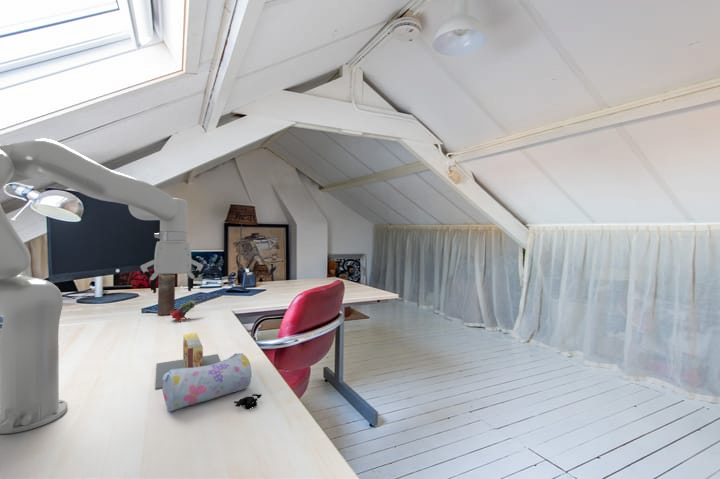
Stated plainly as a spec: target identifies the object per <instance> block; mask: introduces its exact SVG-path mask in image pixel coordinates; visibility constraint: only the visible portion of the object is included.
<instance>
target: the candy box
mask: <svg viewBox="0 0 720 479" xmlns="http://www.w3.org/2000/svg"><path fill="white" fill-rule="evenodd" d="M182 343H183V345H182V346H183V347H182V355H183V356H182V359H183V361H184V365H185V368H193V367H201V366H203V356H204V354H203V353H204V352H203V349H204V348H203V344H202V342H201V340H200V338H199V335H198V333H197V332H194V333H193V332H192V333H184V334H183V342H182Z"/></svg>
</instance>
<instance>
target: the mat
mask: <svg viewBox="0 0 720 479" xmlns="http://www.w3.org/2000/svg"><path fill="white" fill-rule="evenodd" d="M219 356H220V355H219V354H217V353H216V354H210V355H203V366H208V365H212V364H215V363H218V362H220V361H221V359H220V357H219ZM155 367H156V368H155V383H154V384H155V385H154V386H155V387H154V389H155V391H156V390H159V389H160V390H161V389H162V383H163V380H162V378H163V376H164V375H165V374H166V373H167V372H169V371H170V370H171V369H179V368H185V365H184V361H183V358H182V359H176V360H171V361H163V362H156V366H155Z"/></svg>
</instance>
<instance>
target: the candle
mask: <svg viewBox="0 0 720 479" xmlns="http://www.w3.org/2000/svg"><path fill="white" fill-rule="evenodd" d="M157 286H158V287H157V288H158V293H157V294H158V296H157V316H167V315H170V313H172V311H173V312H175V311H176V310H175V308H176V307H175V305H176V304H175V303H176V302H175V301H176V299H175V293H176V290H175V289H176V274H159V275H158V285H157ZM173 308H174V309H173Z"/></svg>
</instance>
